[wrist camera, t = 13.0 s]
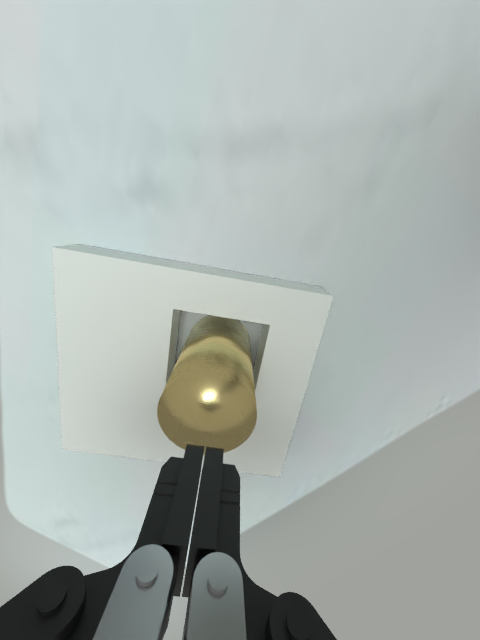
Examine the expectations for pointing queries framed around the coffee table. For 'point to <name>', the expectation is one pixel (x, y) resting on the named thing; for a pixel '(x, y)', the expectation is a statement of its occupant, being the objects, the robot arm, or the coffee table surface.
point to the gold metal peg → (211, 388)
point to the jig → (172, 349)
